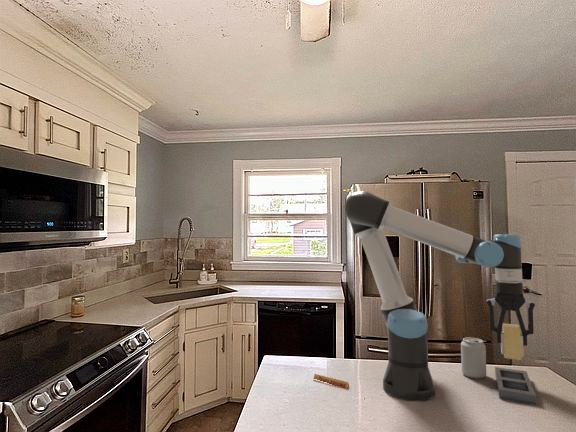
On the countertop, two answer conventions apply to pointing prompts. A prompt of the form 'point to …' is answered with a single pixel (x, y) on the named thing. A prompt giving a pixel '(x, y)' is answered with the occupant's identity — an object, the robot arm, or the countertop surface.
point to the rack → (514, 385)
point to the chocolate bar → (332, 381)
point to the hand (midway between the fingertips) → (512, 354)
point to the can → (473, 358)
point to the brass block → (512, 341)
